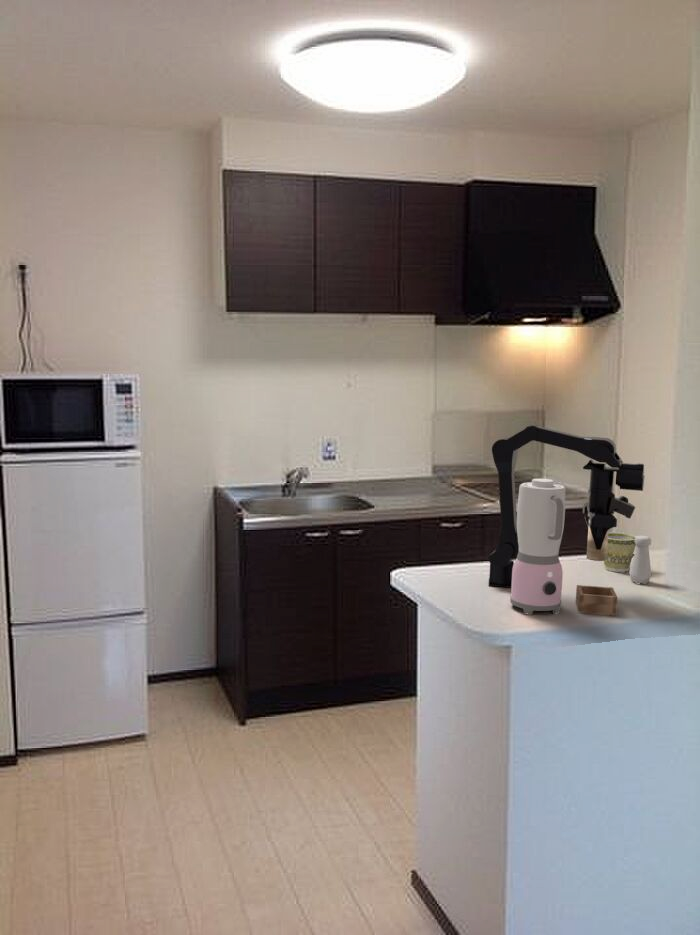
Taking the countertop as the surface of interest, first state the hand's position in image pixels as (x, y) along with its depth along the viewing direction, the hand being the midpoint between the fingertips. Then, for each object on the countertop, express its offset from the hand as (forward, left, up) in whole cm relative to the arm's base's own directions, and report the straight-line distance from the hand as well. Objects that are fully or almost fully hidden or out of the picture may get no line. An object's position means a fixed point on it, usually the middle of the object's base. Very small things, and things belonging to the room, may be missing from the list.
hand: (597, 547), depth 228 cm
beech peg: (0, 0, -3) cm, 3 cm away
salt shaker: (+14, +17, -13) cm, 26 cm away
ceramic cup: (+11, +30, -13) cm, 35 cm away
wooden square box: (-1, -12, -13) cm, 18 cm away
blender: (-15, -16, -13) cm, 26 cm away
